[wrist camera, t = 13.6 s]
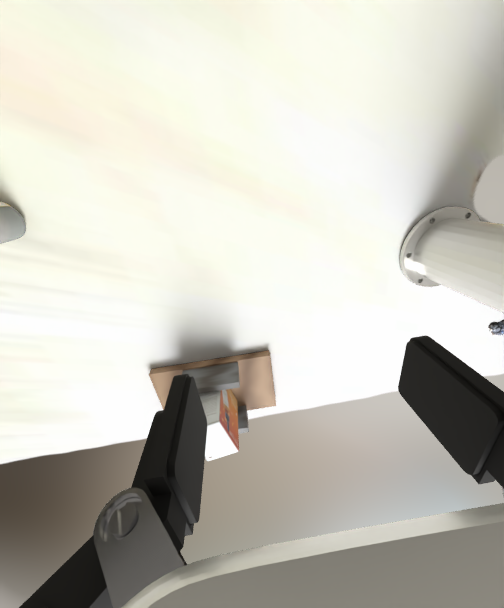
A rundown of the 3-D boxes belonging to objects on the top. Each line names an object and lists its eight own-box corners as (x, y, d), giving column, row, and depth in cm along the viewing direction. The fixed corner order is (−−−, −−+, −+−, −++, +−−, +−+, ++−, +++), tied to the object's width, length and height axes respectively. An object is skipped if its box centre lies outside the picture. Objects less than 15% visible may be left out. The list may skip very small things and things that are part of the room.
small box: (237, 400, 47) (240, 452, 38) (211, 408, 48) (207, 463, 38) (221, 371, 44) (220, 421, 35) (193, 381, 44) (184, 433, 35)
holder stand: (269, 350, 45) (275, 374, 39) (274, 399, 50) (280, 427, 45) (151, 368, 44) (139, 396, 38) (170, 416, 50) (163, 447, 44)
